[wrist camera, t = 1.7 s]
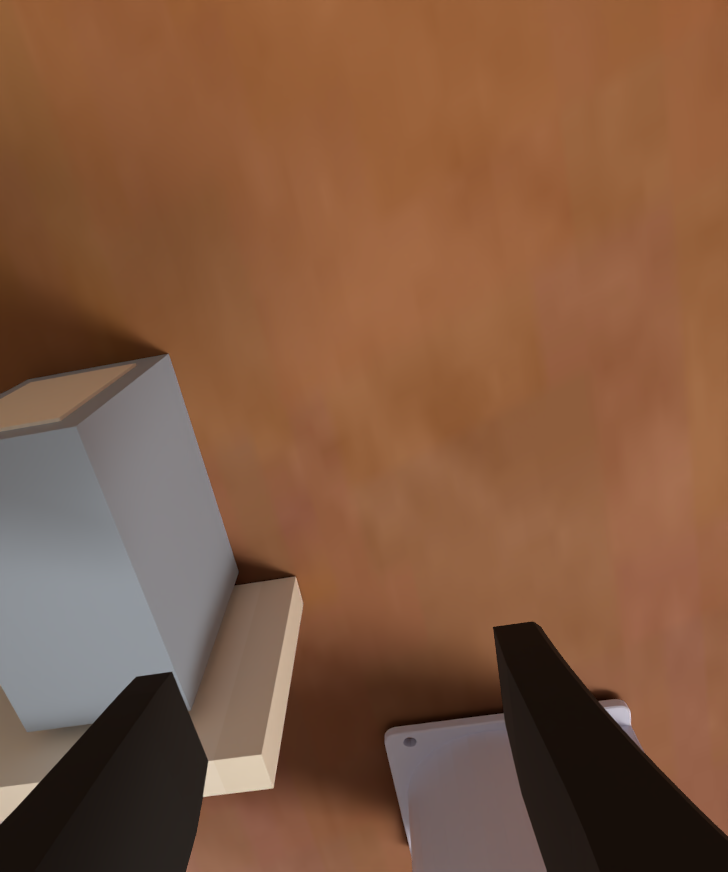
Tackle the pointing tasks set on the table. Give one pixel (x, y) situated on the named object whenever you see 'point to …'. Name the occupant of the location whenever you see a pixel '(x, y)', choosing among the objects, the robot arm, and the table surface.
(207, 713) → the shelf wall
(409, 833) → the robot arm
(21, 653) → the boxed book
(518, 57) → the table surface
